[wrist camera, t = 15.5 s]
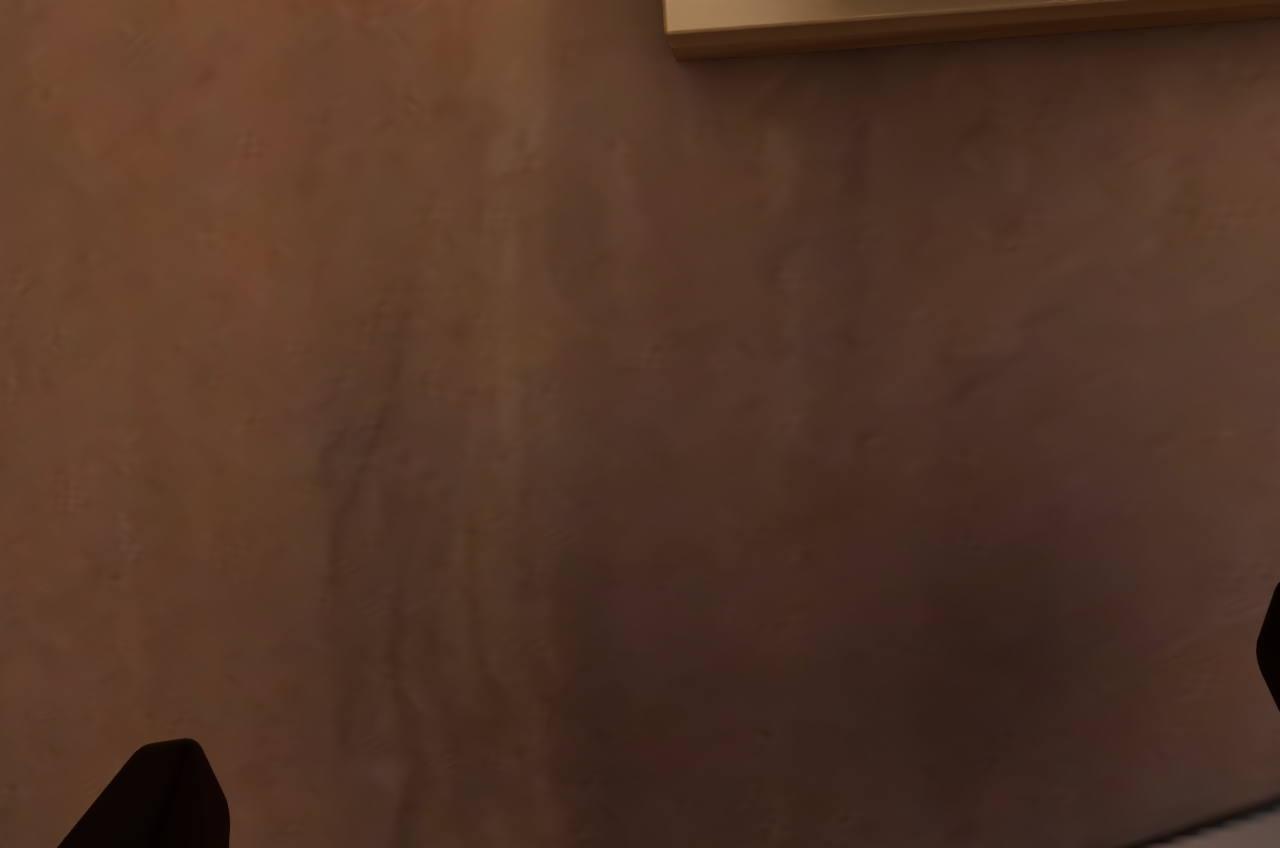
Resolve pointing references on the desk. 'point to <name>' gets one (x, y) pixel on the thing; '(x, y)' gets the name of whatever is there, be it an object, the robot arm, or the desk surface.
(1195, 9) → the platform
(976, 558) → the desk surface
